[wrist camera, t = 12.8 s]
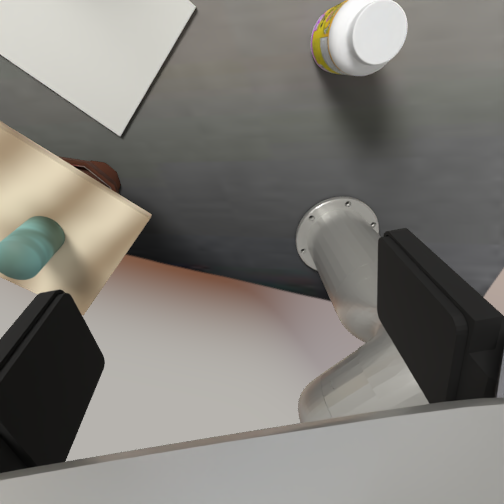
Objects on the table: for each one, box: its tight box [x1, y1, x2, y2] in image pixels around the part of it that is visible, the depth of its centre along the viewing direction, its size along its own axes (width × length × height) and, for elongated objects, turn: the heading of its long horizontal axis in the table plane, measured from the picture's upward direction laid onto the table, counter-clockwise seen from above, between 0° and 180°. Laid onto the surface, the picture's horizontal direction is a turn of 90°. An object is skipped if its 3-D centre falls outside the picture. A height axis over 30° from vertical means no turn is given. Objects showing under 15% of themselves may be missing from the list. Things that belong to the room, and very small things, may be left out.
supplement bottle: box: [310, 0, 408, 76], centre depth 34 cm, size 7×7×13 cm
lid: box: [0, 121, 152, 315], centre depth 30 cm, size 14×14×6 cm
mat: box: [0, 0, 196, 136], centre depth 37 cm, size 17×17×1 cm
